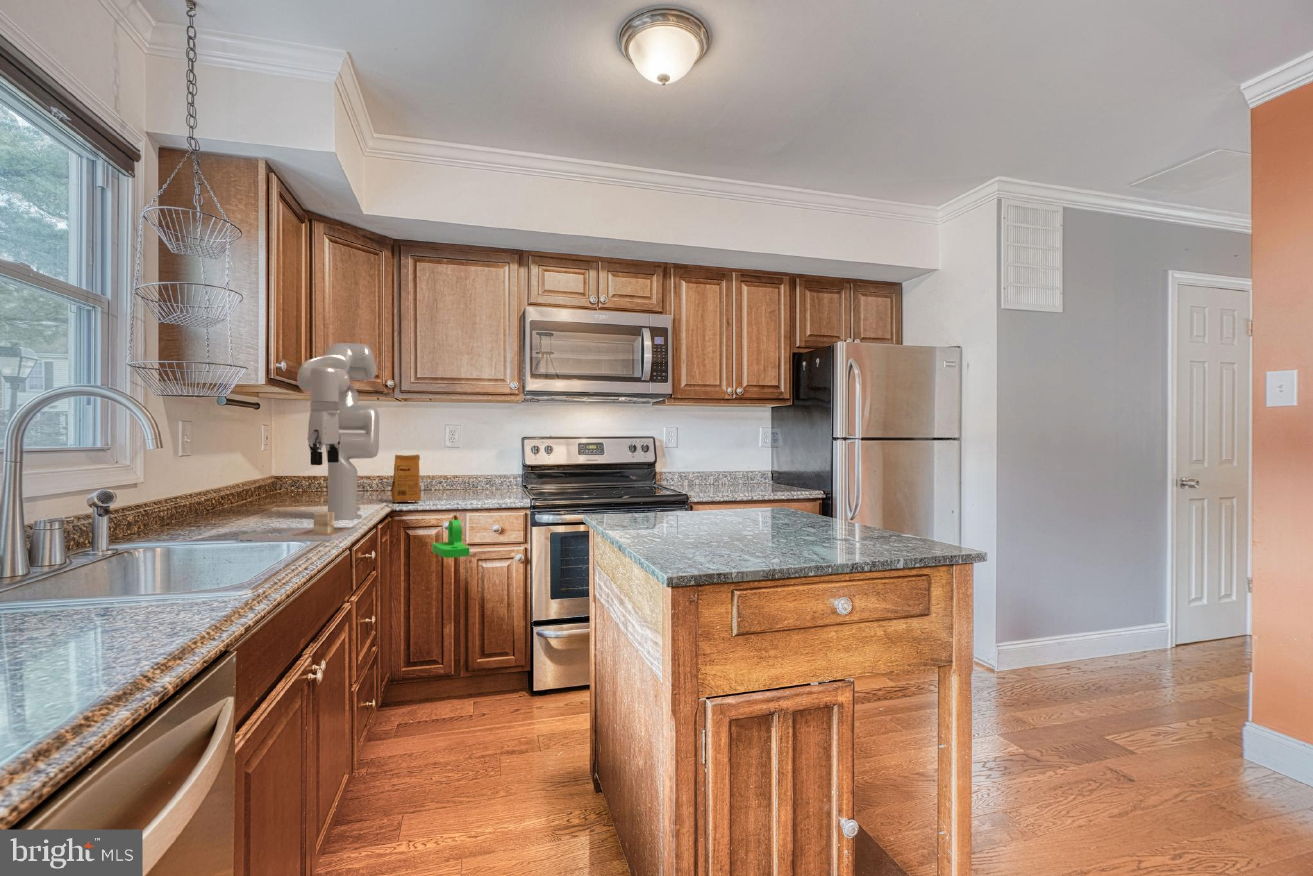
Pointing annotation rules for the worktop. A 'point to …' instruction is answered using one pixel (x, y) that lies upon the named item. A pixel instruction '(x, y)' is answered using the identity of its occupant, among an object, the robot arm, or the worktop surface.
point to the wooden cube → (323, 522)
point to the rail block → (297, 534)
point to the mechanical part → (452, 542)
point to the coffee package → (406, 479)
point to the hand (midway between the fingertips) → (325, 463)
